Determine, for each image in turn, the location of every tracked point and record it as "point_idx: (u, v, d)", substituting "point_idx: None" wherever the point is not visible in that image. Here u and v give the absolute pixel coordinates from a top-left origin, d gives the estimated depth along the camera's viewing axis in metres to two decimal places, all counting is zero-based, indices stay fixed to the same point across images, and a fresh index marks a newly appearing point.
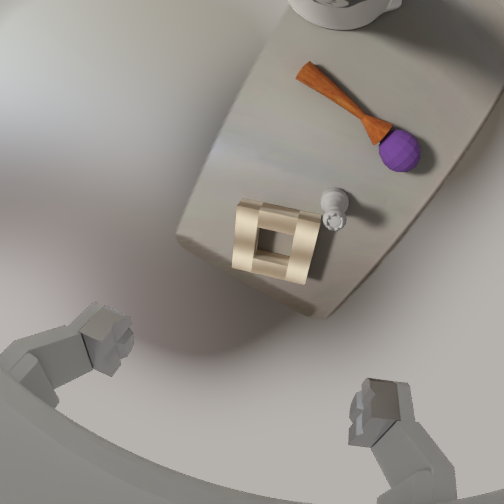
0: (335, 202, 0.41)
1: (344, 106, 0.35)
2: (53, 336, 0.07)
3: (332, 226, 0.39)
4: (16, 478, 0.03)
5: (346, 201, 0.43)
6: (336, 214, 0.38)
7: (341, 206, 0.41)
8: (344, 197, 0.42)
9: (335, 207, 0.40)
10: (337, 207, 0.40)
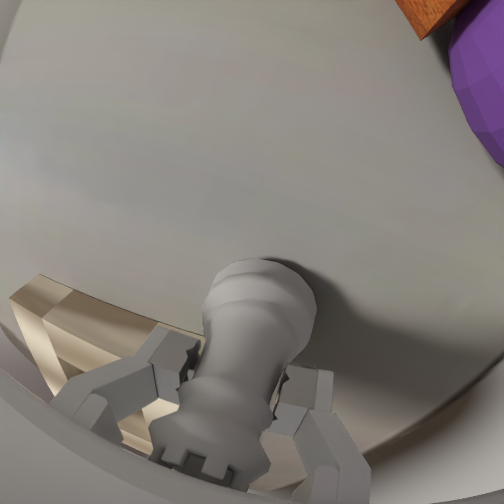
0: (235, 347, 0.08)
1: None
2: (119, 370, 0.07)
3: None
4: (16, 478, 0.03)
5: (302, 320, 0.10)
6: (200, 456, 0.05)
7: (266, 364, 0.08)
8: (292, 304, 0.10)
9: (218, 390, 0.07)
10: (229, 390, 0.07)
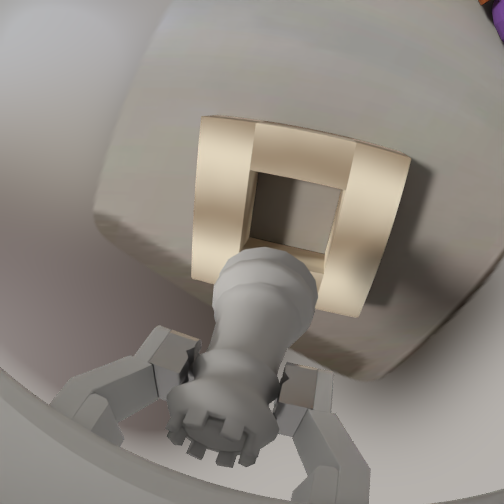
0: (247, 324, 0.09)
1: None
2: (119, 370, 0.07)
3: (208, 446, 0.07)
4: (16, 478, 0.03)
5: (306, 305, 0.11)
6: (219, 418, 0.06)
7: (274, 340, 0.09)
8: (298, 289, 0.11)
9: (233, 360, 0.08)
10: (244, 361, 0.08)
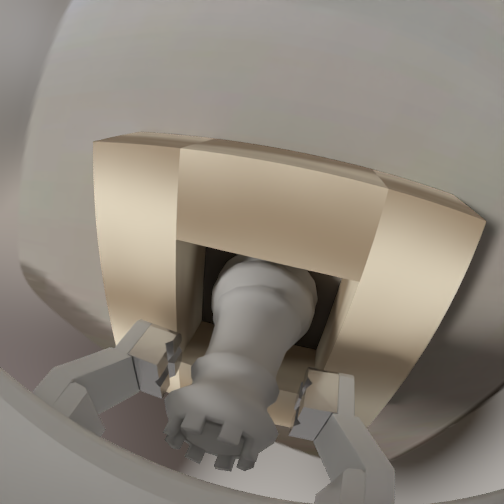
0: (246, 327, 0.09)
1: None
2: (100, 361, 0.07)
3: (206, 450, 0.07)
4: (16, 478, 0.03)
5: (305, 307, 0.11)
6: (217, 423, 0.06)
7: (273, 343, 0.09)
8: (297, 291, 0.11)
9: (232, 364, 0.08)
10: (242, 364, 0.08)
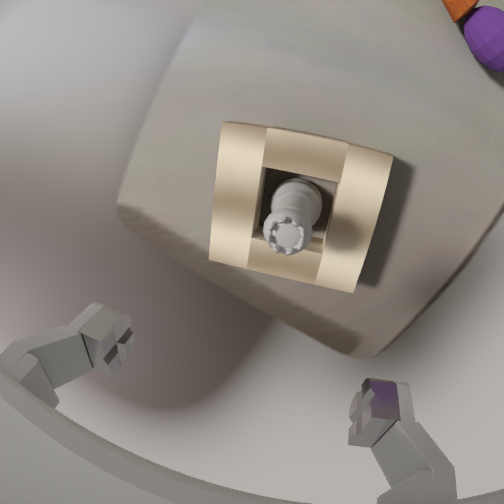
0: (293, 201, 0.22)
1: None
2: (53, 336, 0.07)
3: (282, 245, 0.19)
4: (16, 478, 0.03)
5: (317, 202, 0.23)
6: (290, 220, 0.19)
7: (305, 208, 0.22)
8: (313, 194, 0.23)
9: (291, 207, 0.20)
10: (295, 208, 0.20)
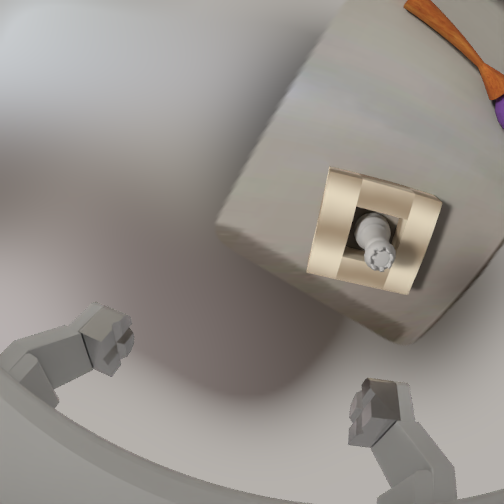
0: (378, 232, 0.29)
1: (463, 46, 0.19)
2: (53, 336, 0.07)
3: (377, 265, 0.27)
4: (16, 478, 0.03)
5: (389, 231, 0.31)
6: (385, 249, 0.26)
7: (385, 238, 0.29)
8: (386, 225, 0.31)
9: (381, 239, 0.28)
10: (383, 239, 0.28)
